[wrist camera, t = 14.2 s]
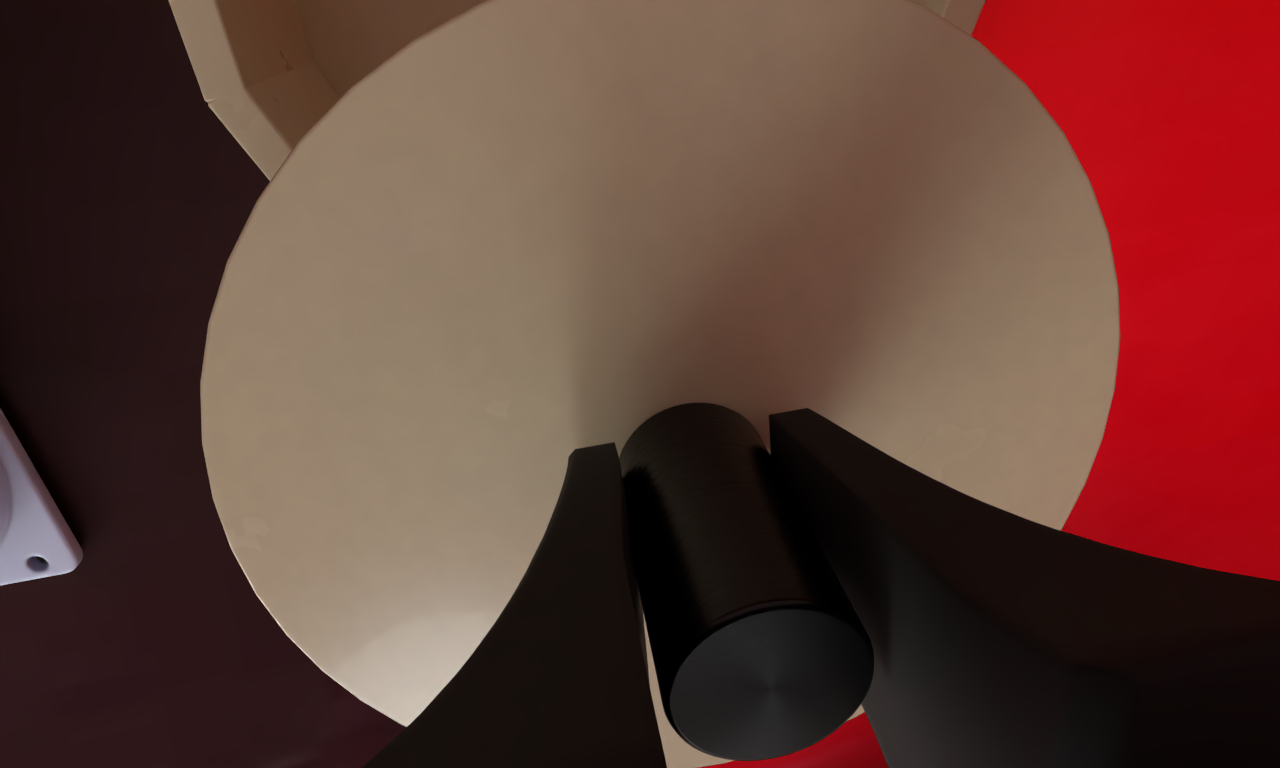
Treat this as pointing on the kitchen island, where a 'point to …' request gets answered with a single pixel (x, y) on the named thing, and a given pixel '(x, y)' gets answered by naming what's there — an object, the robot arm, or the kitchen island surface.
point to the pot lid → (648, 333)
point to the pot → (323, 57)
